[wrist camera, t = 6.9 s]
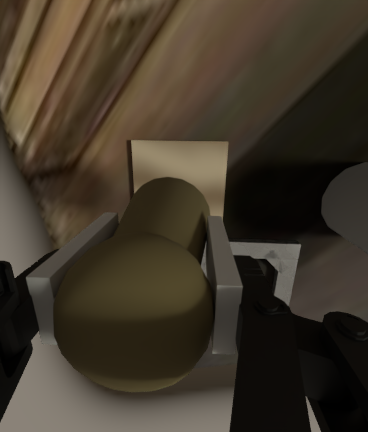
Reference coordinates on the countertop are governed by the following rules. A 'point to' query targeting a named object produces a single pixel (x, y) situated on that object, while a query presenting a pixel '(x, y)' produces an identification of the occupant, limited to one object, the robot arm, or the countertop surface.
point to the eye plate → (270, 260)
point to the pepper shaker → (141, 294)
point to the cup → (348, 205)
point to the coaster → (184, 166)
